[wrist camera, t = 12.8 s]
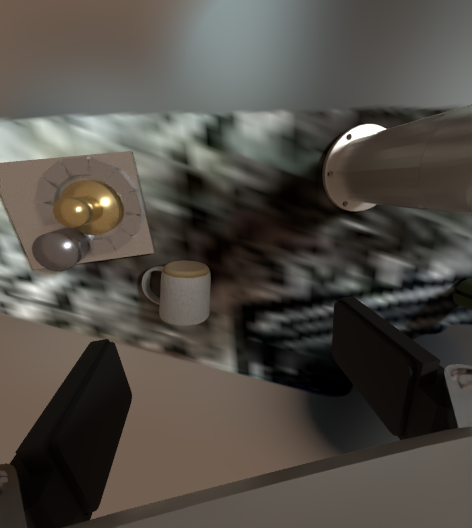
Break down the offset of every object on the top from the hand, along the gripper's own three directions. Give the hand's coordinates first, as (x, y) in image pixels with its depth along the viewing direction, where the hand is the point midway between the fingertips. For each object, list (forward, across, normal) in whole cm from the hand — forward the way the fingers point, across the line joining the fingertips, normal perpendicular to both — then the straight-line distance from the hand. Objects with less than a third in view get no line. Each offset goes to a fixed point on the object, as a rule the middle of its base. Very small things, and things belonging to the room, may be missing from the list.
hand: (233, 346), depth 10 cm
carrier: (+28, +17, -4) cm, 33 cm away
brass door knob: (+27, +15, -5) cm, 31 cm away
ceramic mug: (+29, +6, +8) cm, 30 cm away
